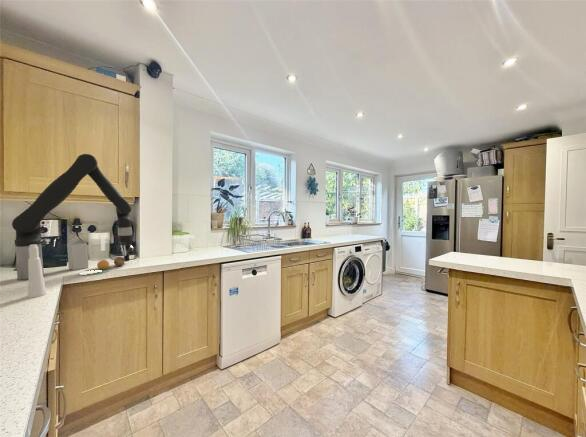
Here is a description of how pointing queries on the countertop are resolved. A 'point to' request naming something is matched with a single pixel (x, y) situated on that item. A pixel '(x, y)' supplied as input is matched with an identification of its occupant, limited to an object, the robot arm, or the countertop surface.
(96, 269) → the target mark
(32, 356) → the countertop surface
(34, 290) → the cosmetic bottle
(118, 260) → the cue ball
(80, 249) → the milk carton
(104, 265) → the object ball
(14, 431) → the countertop surface
